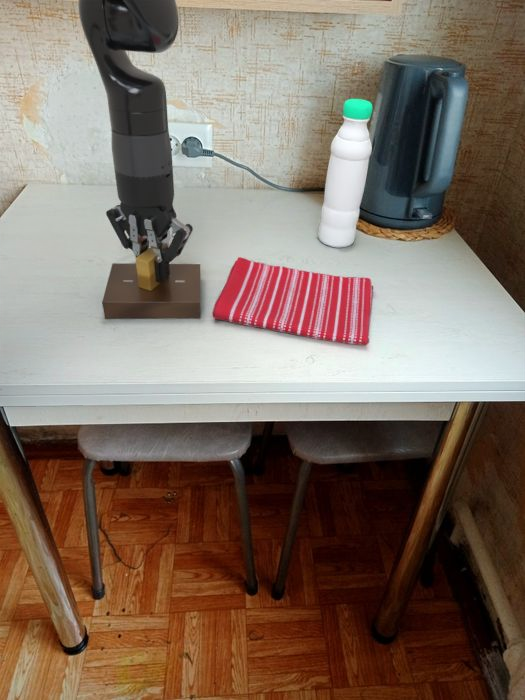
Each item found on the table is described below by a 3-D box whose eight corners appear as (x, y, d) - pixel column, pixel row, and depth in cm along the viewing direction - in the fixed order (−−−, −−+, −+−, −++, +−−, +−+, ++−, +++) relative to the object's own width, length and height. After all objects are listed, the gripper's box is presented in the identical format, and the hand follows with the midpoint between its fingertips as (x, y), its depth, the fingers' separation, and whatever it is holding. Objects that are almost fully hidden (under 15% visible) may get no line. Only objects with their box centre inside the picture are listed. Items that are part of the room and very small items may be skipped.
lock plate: (104, 319, 75) (101, 301, 73) (114, 279, 83) (112, 262, 81) (200, 318, 76) (200, 301, 74) (200, 279, 85) (200, 262, 83)
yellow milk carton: (150, 291, 76) (147, 260, 72) (138, 287, 76) (135, 256, 73) (169, 276, 79) (167, 245, 76) (157, 272, 80) (155, 242, 77)
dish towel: (237, 266, 89) (237, 253, 87) (373, 289, 86) (376, 275, 84) (208, 322, 76) (208, 308, 74) (367, 351, 73) (370, 336, 71)
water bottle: (312, 243, 97) (332, 102, 81) (323, 228, 102) (343, 93, 86) (348, 252, 95) (375, 109, 79) (357, 236, 100) (384, 100, 84)
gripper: (81, 161, 66) (101, 276, 77) (172, 184, 62) (179, 302, 73) (118, 146, 71) (131, 255, 82) (203, 165, 67) (206, 278, 78)
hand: (154, 277), depth 77 cm, fingers closed on yellow milk carton, 2 cm apart
